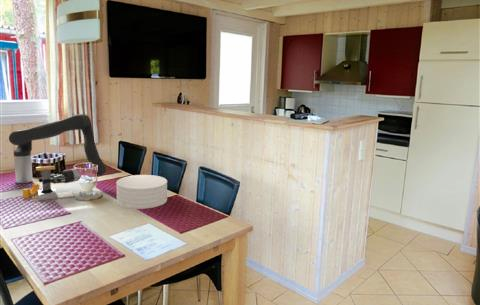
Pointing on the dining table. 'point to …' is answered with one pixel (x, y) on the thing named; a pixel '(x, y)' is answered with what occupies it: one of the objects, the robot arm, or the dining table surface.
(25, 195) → the orange irregular block
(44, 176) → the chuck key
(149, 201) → the plate stack
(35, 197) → the pale flat board
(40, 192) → the white flat block
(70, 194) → the rest pad
